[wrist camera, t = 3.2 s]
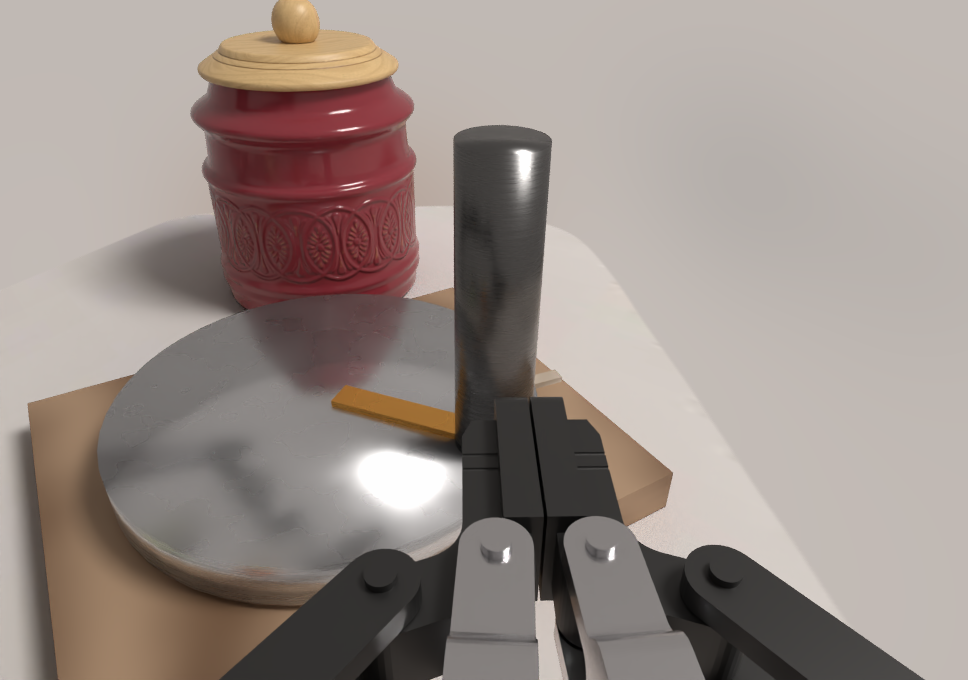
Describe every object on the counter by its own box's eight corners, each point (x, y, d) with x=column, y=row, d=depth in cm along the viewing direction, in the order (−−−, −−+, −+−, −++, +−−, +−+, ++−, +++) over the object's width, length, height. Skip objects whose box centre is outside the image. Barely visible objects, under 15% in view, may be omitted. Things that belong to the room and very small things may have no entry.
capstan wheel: (3, 516, 26) (-182, 154, 19) (280, 300, 41) (239, 45, 33) (435, 681, 21) (422, 273, 14) (579, 367, 35) (612, 82, 28)
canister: (408, 234, 54) (397, -17, 45) (433, 318, 44) (425, 11, 34) (235, 246, 52) (185, -17, 42) (217, 338, 41) (144, 14, 32)
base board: (88, 805, 20) (64, 765, 19) (41, 435, 34) (25, 398, 32) (665, 506, 31) (674, 467, 29) (452, 315, 44) (452, 283, 43)
